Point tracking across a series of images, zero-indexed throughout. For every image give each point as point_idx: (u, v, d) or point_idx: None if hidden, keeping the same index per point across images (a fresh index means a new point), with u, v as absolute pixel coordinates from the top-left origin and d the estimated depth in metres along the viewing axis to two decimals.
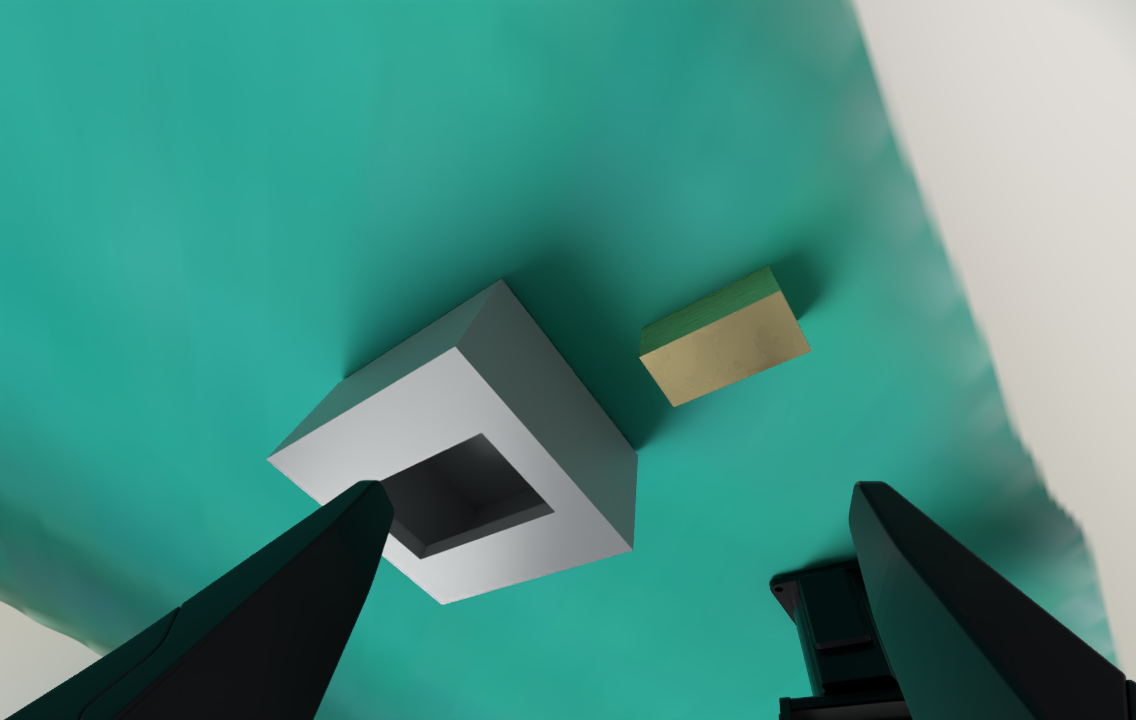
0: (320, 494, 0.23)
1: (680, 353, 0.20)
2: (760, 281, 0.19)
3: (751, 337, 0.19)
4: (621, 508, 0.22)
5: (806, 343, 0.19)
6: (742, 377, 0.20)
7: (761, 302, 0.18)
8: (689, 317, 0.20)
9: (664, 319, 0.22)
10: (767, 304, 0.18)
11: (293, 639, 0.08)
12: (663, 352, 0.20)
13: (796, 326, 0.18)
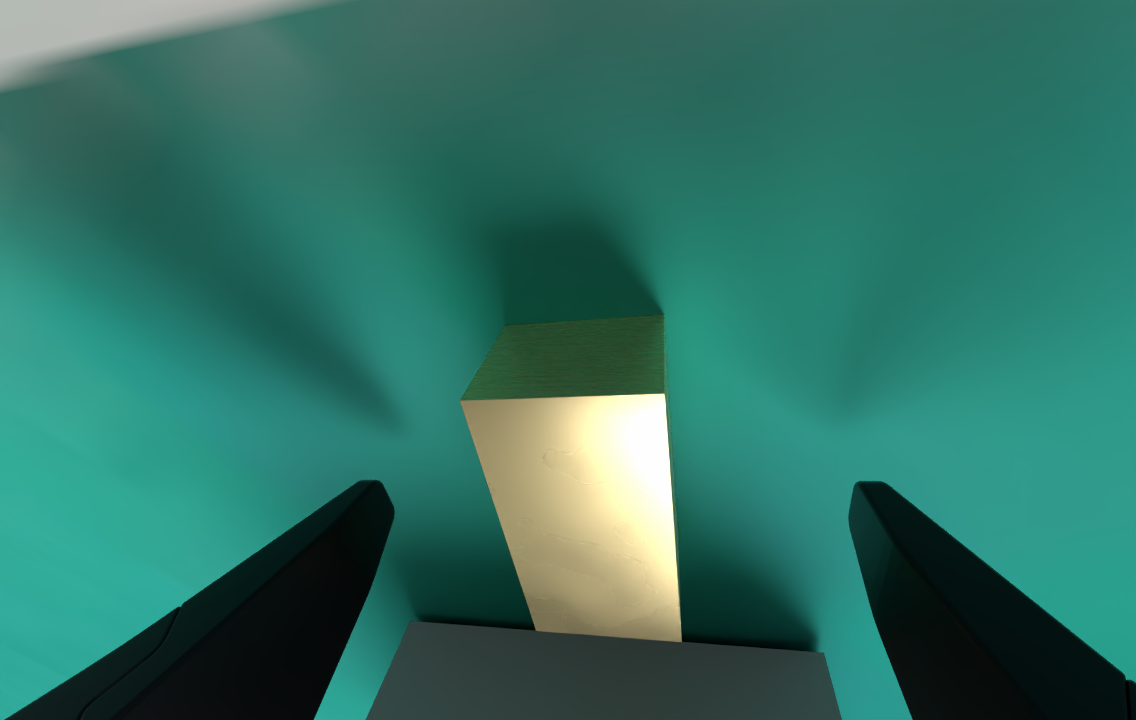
0: None
1: (553, 587, 0.09)
2: None
3: (566, 483, 0.08)
4: None
5: (634, 397, 0.07)
6: (667, 532, 0.08)
7: (479, 440, 0.08)
8: None
9: None
10: (488, 433, 0.07)
11: (293, 639, 0.08)
12: (540, 603, 0.10)
13: (570, 401, 0.07)
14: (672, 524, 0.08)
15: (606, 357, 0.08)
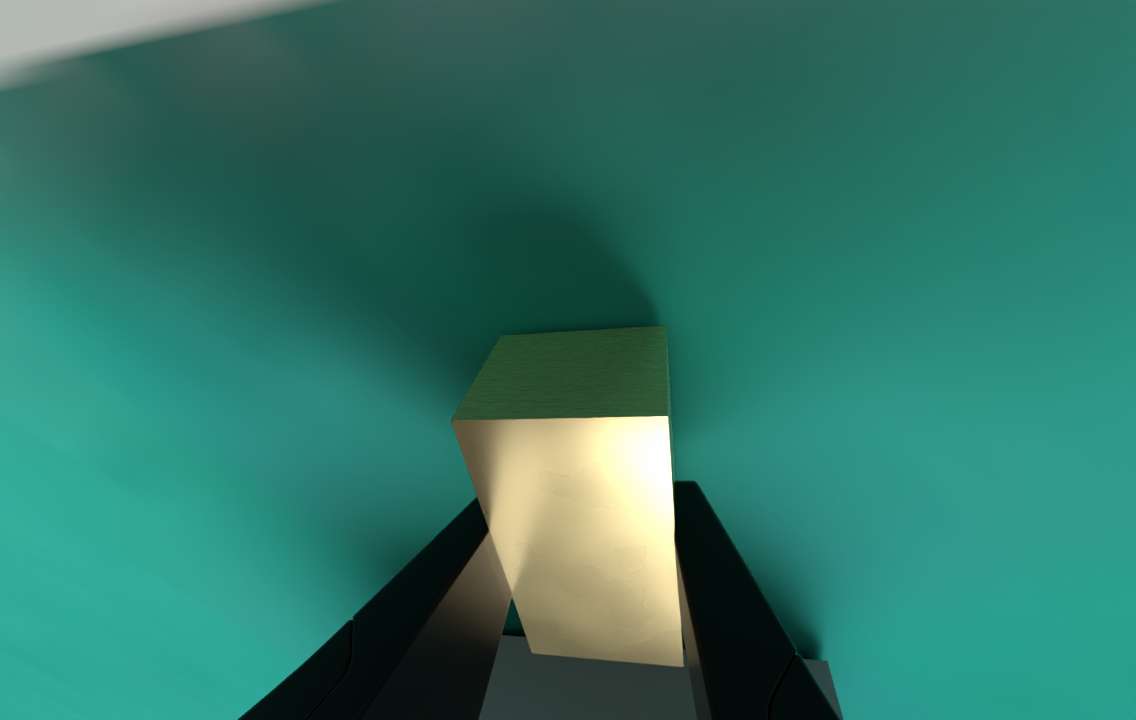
0: None
1: (550, 610, 0.09)
2: None
3: (563, 506, 0.07)
4: None
5: (636, 419, 0.06)
6: (670, 557, 0.08)
7: (472, 461, 0.07)
8: None
9: None
10: (481, 453, 0.07)
11: (460, 654, 0.07)
12: (537, 625, 0.09)
13: (568, 423, 0.06)
14: None
15: (606, 374, 0.07)
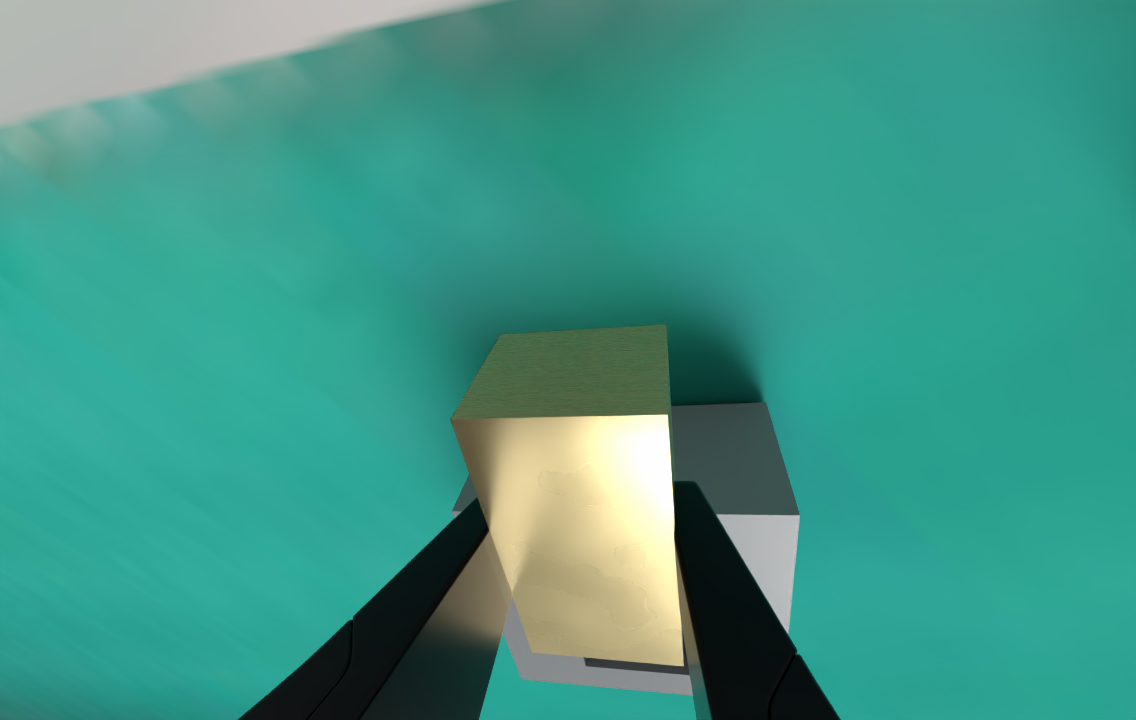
0: (575, 678, 0.23)
1: (550, 609, 0.09)
2: None
3: (562, 505, 0.07)
4: (753, 482, 0.17)
5: (635, 418, 0.06)
6: (670, 556, 0.08)
7: (471, 460, 0.07)
8: None
9: None
10: (481, 452, 0.07)
11: (460, 654, 0.07)
12: (536, 624, 0.09)
13: (567, 421, 0.06)
14: (674, 548, 0.07)
15: (605, 372, 0.07)
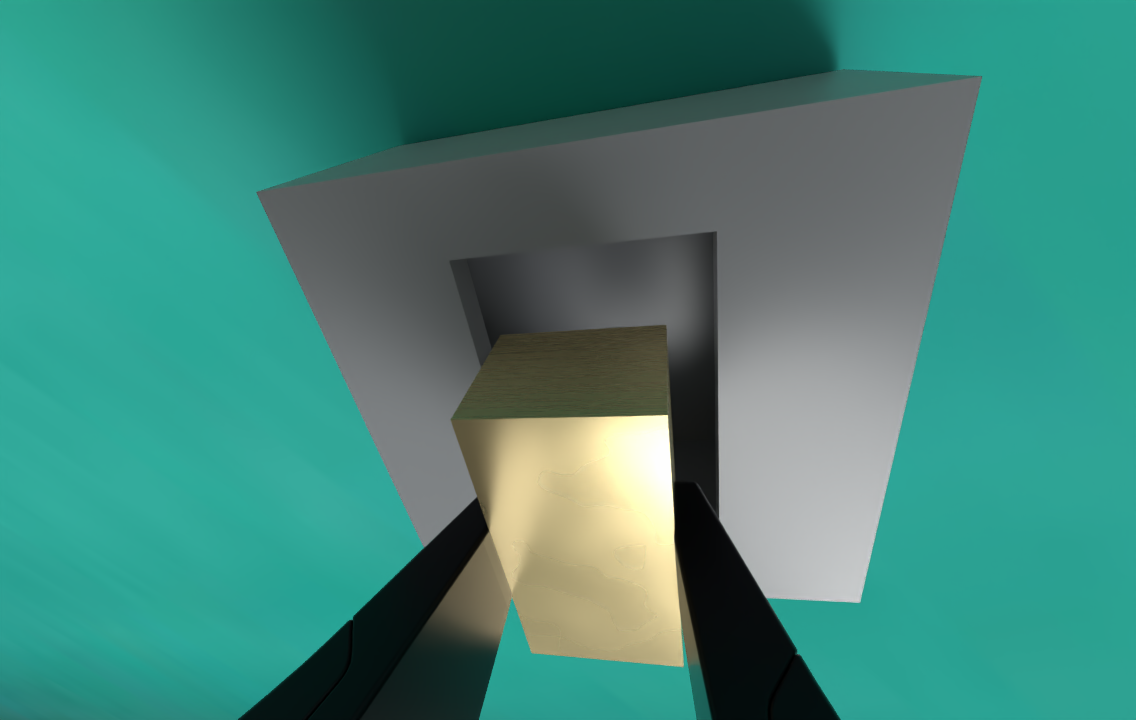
0: None
1: (550, 610, 0.09)
2: None
3: (562, 506, 0.07)
4: (854, 87, 0.08)
5: (635, 418, 0.06)
6: (669, 556, 0.08)
7: (471, 461, 0.07)
8: None
9: None
10: (480, 453, 0.07)
11: (460, 654, 0.07)
12: (536, 625, 0.09)
13: (568, 422, 0.06)
14: (674, 549, 0.07)
15: (605, 373, 0.07)
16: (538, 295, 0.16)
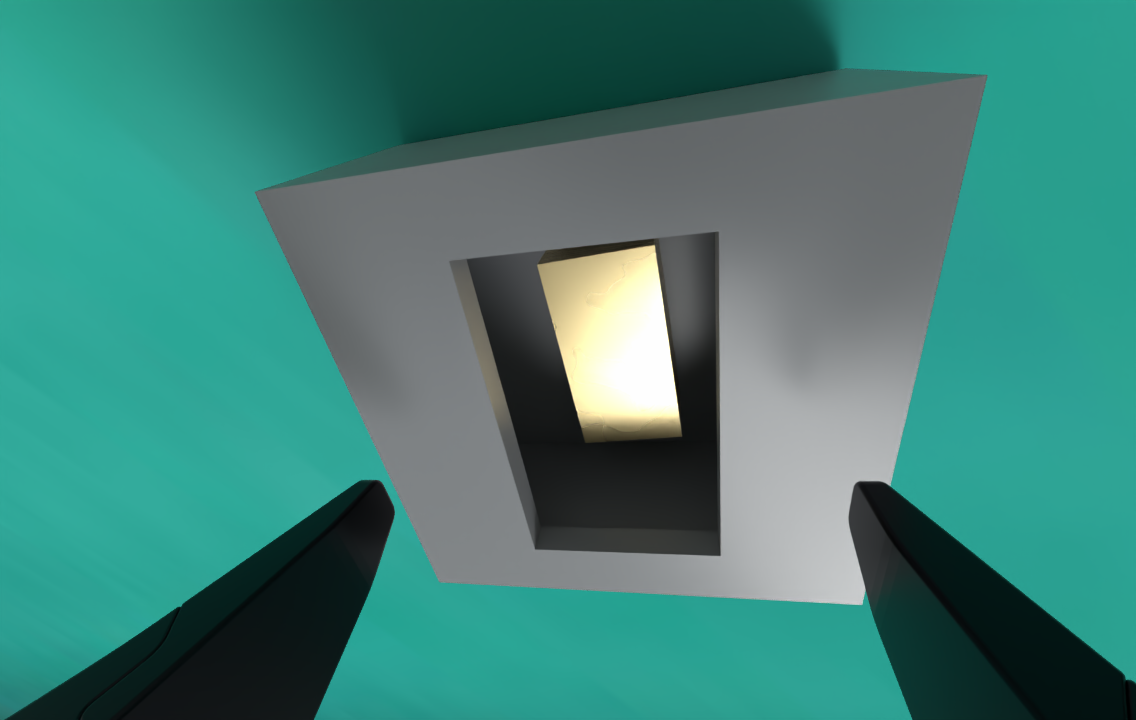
0: (520, 574, 0.14)
1: (596, 401, 0.14)
2: None
3: (601, 316, 0.13)
4: (857, 85, 0.08)
5: (638, 249, 0.12)
6: (664, 345, 0.13)
7: (548, 292, 0.13)
8: None
9: None
10: (553, 285, 0.13)
11: (293, 639, 0.08)
12: (587, 417, 0.15)
13: (602, 257, 0.12)
14: (667, 338, 0.13)
15: None
16: (538, 295, 0.16)
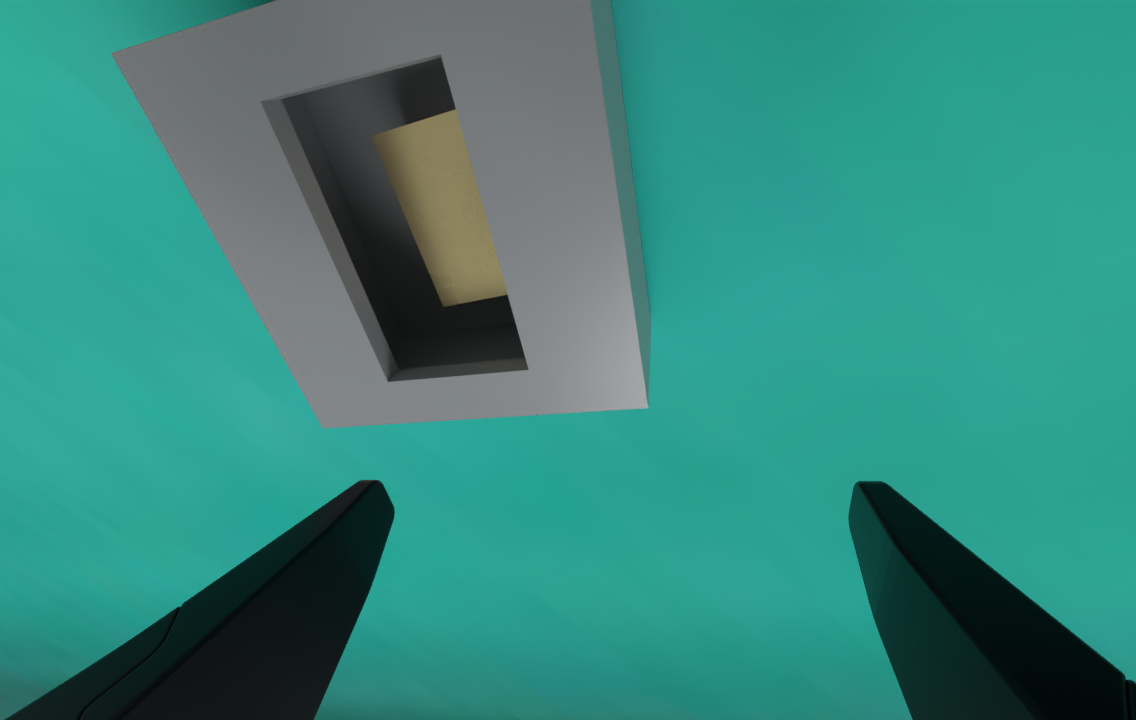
0: (383, 411, 0.17)
1: (443, 264, 0.17)
2: None
3: (430, 180, 0.16)
4: None
5: (444, 114, 0.14)
6: None
7: (385, 160, 0.15)
8: None
9: None
10: (387, 154, 0.15)
11: (294, 639, 0.08)
12: (440, 280, 0.17)
13: (419, 124, 0.15)
14: None
15: None
16: None
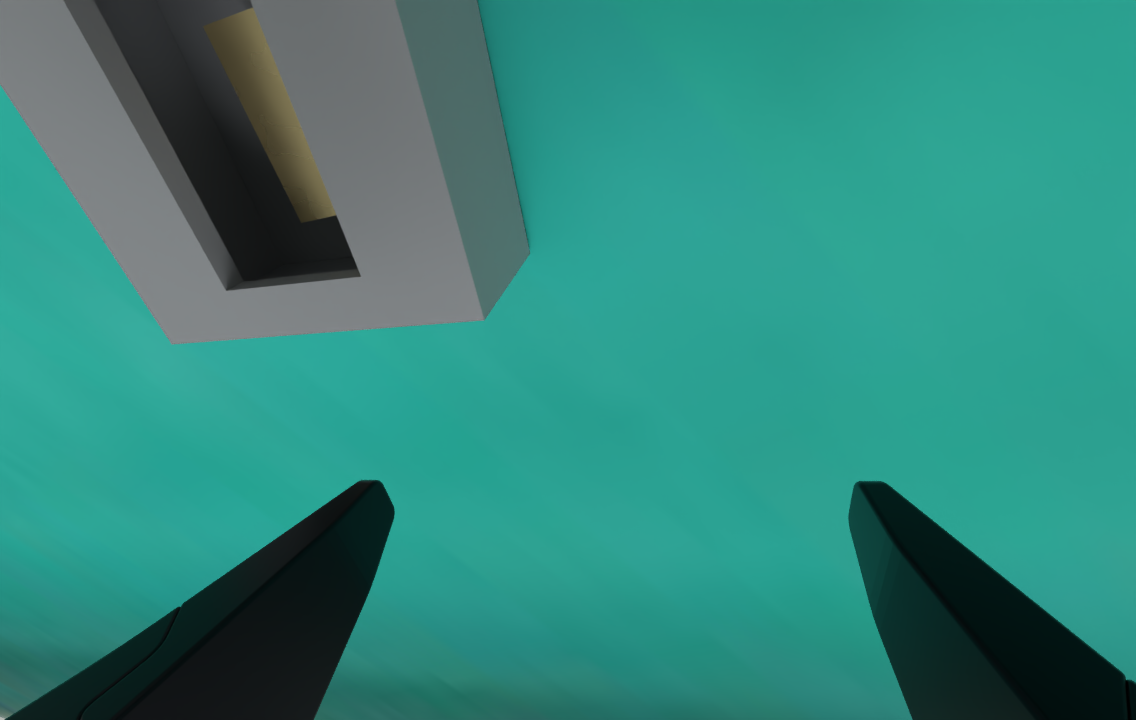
0: (227, 324, 0.16)
1: (295, 174, 0.16)
2: None
3: (268, 78, 0.15)
4: None
5: None
6: None
7: (220, 55, 0.15)
8: None
9: None
10: (222, 47, 0.15)
11: (293, 639, 0.08)
12: (293, 192, 0.17)
13: (248, 13, 0.14)
14: None
15: None
16: None
